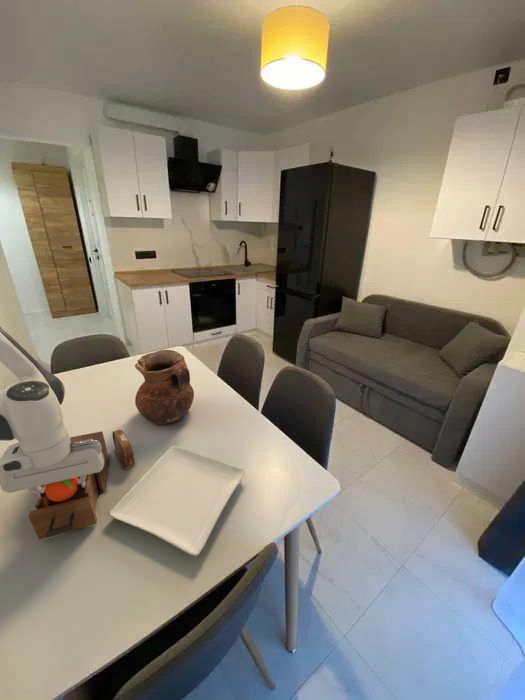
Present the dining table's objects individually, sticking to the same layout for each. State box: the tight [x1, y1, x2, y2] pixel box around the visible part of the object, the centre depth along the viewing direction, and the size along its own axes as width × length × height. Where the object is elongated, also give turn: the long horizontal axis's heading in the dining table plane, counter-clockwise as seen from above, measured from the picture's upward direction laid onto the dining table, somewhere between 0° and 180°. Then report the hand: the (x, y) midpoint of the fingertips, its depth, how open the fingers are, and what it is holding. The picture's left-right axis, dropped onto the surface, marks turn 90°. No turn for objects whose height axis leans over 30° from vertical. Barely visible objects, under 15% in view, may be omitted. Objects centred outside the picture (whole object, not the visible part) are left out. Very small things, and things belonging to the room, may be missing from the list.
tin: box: [111, 429, 136, 469], centre depth 94 cm, size 15×3×8 cm, turn 40°
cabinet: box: [41, 430, 109, 494], centre depth 85 cm, size 15×14×11 cm
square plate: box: [107, 445, 246, 557], centre depth 82 cm, size 27×27×4 cm
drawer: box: [27, 473, 99, 541], centre depth 74 cm, size 18×12×9 cm
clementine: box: [45, 477, 78, 502], centre depth 72 cm, size 8×7×7 cm
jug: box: [134, 349, 195, 425], centre depth 113 cm, size 22×21×25 cm
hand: (63, 490), depth 72 cm, fingers closed on clementine, 7 cm apart
